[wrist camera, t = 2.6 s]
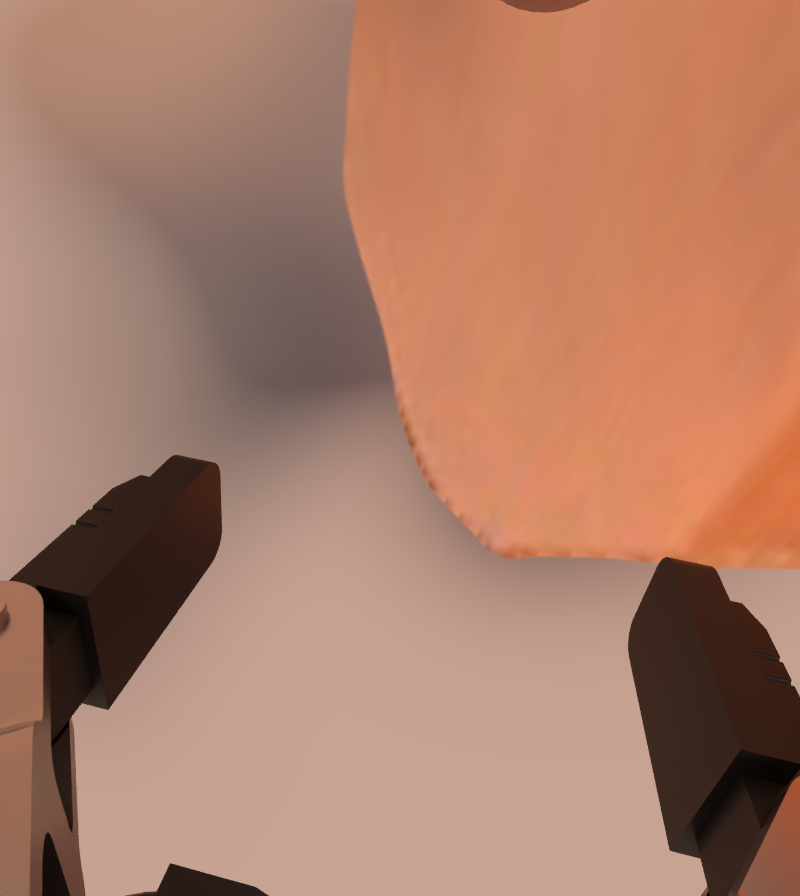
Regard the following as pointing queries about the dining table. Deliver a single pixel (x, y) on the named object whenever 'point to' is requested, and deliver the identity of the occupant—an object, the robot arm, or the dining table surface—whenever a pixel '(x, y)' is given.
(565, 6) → the dark cylinder
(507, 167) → the dining table surface
